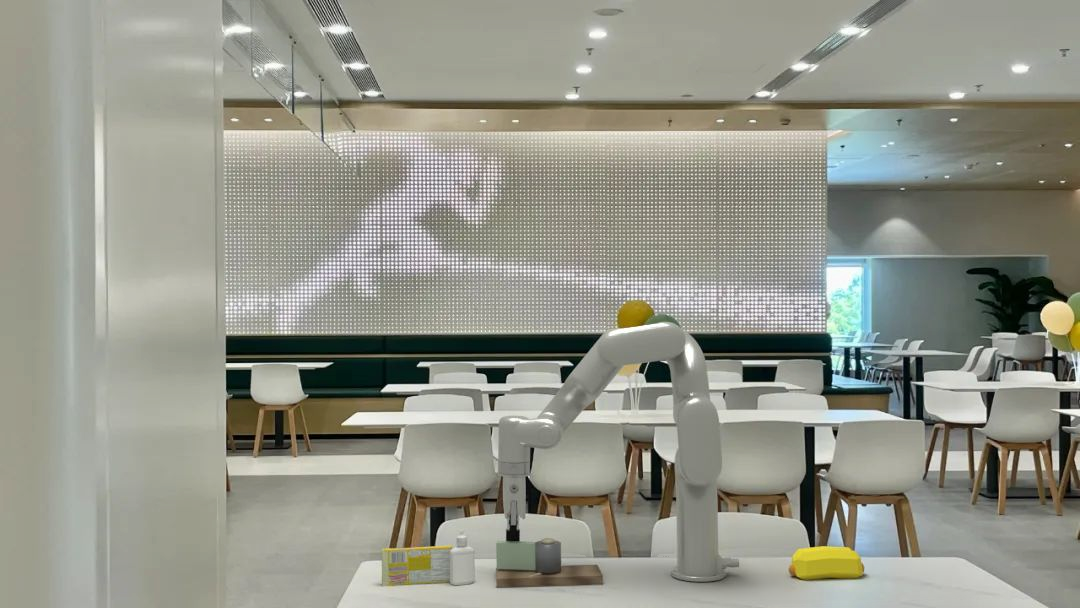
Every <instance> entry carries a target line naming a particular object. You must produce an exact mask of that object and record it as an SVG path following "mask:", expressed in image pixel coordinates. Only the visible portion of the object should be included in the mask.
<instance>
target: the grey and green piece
mask: <svg viewBox="0 0 1080 608" xmlns="http://www.w3.org/2000/svg"><path fill="white" fill-rule="evenodd" d="M495 544H496V550H495V551H496V554H495V555H496V558H495V559H496V560H495V561H496V568H497V569H517V570H535V571H536V572H538V573H545V574H550V573H557V572H560V571H561V566H562V543H561V541H559V540H555V538H550V537H548V538H542V539H541V540H538V541H506V540H497V541H496V543H495Z"/></svg>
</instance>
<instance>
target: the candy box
mask: <svg viewBox="0 0 1080 608" xmlns="http://www.w3.org/2000/svg"><path fill="white" fill-rule="evenodd" d="M451 549H453V546H452V545H436V546H435V545H434V546H419V547H397V548H396V547H395V548H382V549H381V586H382V587H389V586H406V585H407V586H411V585H429V584H430V585H431V584H432V583H433V584H445V583H449V584H451V583H450V550H451Z"/></svg>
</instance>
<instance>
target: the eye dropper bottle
mask: <svg viewBox="0 0 1080 608" xmlns="http://www.w3.org/2000/svg"><path fill="white" fill-rule="evenodd" d="M475 575H476V571H475V549H473V547H471V546H468V536H467V535H465V533H464V530H462V529H461V530H459V533H458V535H457V536H456V546H455V547H454V546H453V547H452V549H451V550H450V583H449V584H451V585H452V586H466V585H470V584H471V585H472V584H474V582H475V581H476V578H475V577H476V576H475Z"/></svg>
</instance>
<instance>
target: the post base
mask: <svg viewBox="0 0 1080 608" xmlns="http://www.w3.org/2000/svg"><path fill="white" fill-rule="evenodd" d="M495 579H496V580H495V583H496V588H499V589H500V588H502V589H504V588H529V587H530V588H532V587H533V588H534V587H561V586H563V587H565V586H566V587H567V586H568V587H569V586H592V585H591V584H601V585H604V577H603V573H602V571H601V569H600V567H599V566H598V564H573V565H569V564H568V565H561V571H560V572H557V573H550V574H545V573H538V572H536V571H535V570H517V569H497V567H495Z"/></svg>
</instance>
